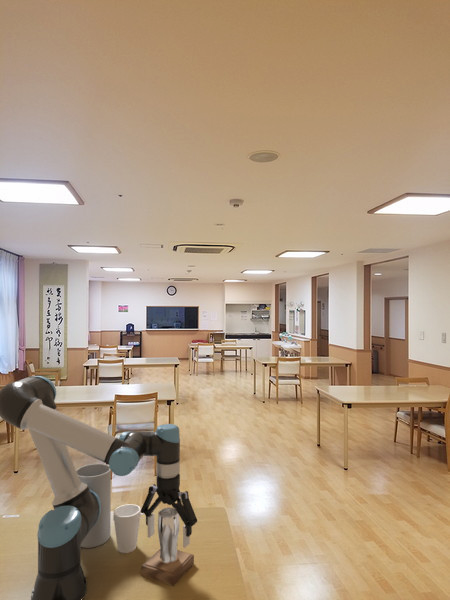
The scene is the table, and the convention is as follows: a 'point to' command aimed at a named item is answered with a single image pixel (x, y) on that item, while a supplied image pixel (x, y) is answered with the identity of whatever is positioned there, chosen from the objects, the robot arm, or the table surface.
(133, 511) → the foam cup
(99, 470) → the cylinder vase
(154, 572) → the coaster
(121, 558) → the table surface
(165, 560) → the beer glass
